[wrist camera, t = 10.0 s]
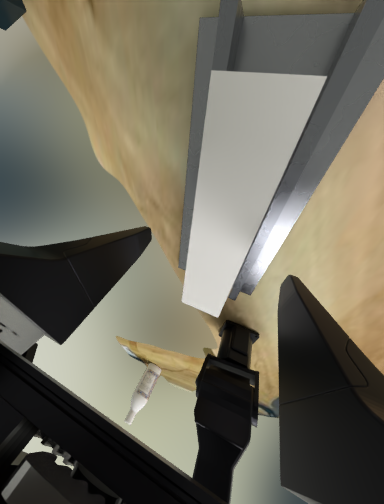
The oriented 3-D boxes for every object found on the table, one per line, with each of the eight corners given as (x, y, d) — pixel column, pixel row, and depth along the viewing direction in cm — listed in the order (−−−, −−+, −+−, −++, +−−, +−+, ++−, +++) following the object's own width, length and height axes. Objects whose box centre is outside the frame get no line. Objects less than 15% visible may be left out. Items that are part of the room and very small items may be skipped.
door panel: (232, 267, 21) (218, 318, 15) (204, 257, 22) (181, 301, 16) (295, 111, 11) (329, 76, 5) (239, 106, 12) (210, 70, 6)
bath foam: (156, 369, 77) (129, 424, 62) (147, 361, 75) (117, 416, 61) (164, 371, 73) (137, 430, 58) (154, 363, 71) (124, 421, 56)
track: (250, 291, 23) (249, 306, 21) (180, 264, 26) (172, 275, 24) (413, 20, 8) (464, -22, 6) (203, 24, 11) (188, -4, 9)
